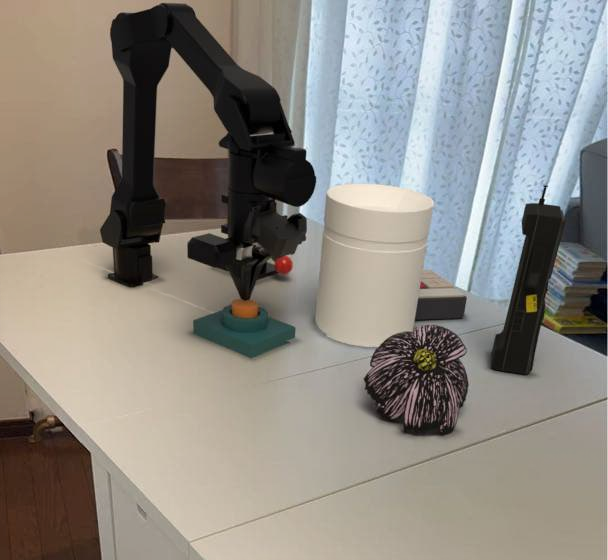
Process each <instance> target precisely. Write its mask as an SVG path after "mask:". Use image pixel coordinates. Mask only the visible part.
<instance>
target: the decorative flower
mask: <svg viewBox="0 0 608 560" xmlns="http://www.w3.org/2000/svg"><path fill="white" fill-rule="evenodd" d="M467 351H468V350H467V347H466V345H465V343H464V342H463V341H462V339H461V337H460V336H458V335H457V334H456V332H453V331H452V330H450V329H449V328H446V327H444V326H440V325H438V324H426V325H420V326H419V325H418V326H416V327H415V328H413V331H406V332H401V333H397V334H394V335H392V336H390V337H389V338H387V339H386V340H385V341H384V342H383V343H382V344H380V346H379V347H376V348H375V350H374V352H373V353H372V356H371V358H370V361H369V366H370V367H371V368H370V370H368V372H367V373H366V374H365V376H364V378H363V381H364V383H365V386H364V391H366V392H367V393H366V394H367V395H369V396H370V397H371V400H373V401H374V404H375V406H376V410H375V412H376V413H377V414H378V415H379V416H380V417H381V418H382V419H384V420H385V421H386V422H394V421H396V420H398V419H399V418H401V417H402V416H403V417H402V421H403V422H402V425H403V430H404V433H406V432H411V431H412V432H414V433H415V434H416V435H419V433H422V434H426V432H428V431H429V432H430V431H431V432H432V431H435V430H436V429H437V431H438V432H440V433H441V436H445V435H448V434H451V433H453V431H454V430H455V428H456V426H457V423H458V419H459V418H458V417H459V410H460V409H461V408H463V407H464V403H465V402H466V400H467V395H468V391H469V385H470V384H469V378H468V373H467V371H466V367H465V366H464V364H463V362H462V361H461V359H462V358H463V357H464V356H466V354H467ZM460 358H461V359H460Z"/></svg>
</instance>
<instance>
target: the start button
mask: <svg viewBox="0 0 608 560" xmlns="http://www.w3.org/2000/svg"><path fill="white" fill-rule="evenodd" d="M231 305H232V315H234V316H236V317H241V318H254V317H256V316H258V306H260V305H259V302H258V301H256V300H254V299H251V298H250V299H249V300H246V301H245V300H242V299H241V298H237V299H234V300H232V302H231Z"/></svg>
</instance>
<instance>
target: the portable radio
mask: <svg viewBox="0 0 608 560" xmlns="http://www.w3.org/2000/svg"><path fill="white" fill-rule="evenodd" d="M542 187H543V189H542V194H541V198H539V199H538V202H530V203H528V202H527V203H525V206H524V210H523V214H522V219H521V234H522V235H524V236H525V237H524V241H523V245H522V248H521V249H522V250H521V254H520V257H519V262H518V266H517V270H516V273H515V274H516V275H515V279H514V282H513V287H512V292H511V296H510V300H509V304H508V309H507V312H506V317H505V321H504V324H503V329H502V330H501V332H499V333H497V334H495V335H494V339H493V344H492V348H491V355H490V356H491V357H490V368H491V369H493V370H496V371H500V372H506V373H513V374H520V375H524V376H525V375H528V374H529V373H531V372H532V371H533V367H534V361H535V356H536V351H537V345H538V342H539V336H540V331H541V328H542V327H541V326H542V323H543V321H544V318H545V314H546V313H545V312H546V295H547V292H548V291H549V281H550V280H551V279H552V275H553V272H554V267H555V263H556V259H557V256H558V252H559V249H560V243H561V241H562V236H563V233H564V228H565V224H566V219H565V215H564V211H563V210H562V209H561V206H560V205H554V204H548V203H547V204H546V203H545V201H546V199H545V196H546V195H545V194H546V192H547V191H546V190H547V188H548V187H549V185H545V184H543V185H542Z"/></svg>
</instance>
